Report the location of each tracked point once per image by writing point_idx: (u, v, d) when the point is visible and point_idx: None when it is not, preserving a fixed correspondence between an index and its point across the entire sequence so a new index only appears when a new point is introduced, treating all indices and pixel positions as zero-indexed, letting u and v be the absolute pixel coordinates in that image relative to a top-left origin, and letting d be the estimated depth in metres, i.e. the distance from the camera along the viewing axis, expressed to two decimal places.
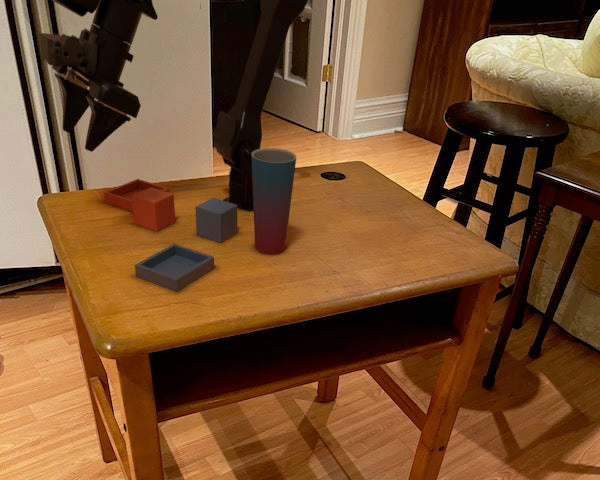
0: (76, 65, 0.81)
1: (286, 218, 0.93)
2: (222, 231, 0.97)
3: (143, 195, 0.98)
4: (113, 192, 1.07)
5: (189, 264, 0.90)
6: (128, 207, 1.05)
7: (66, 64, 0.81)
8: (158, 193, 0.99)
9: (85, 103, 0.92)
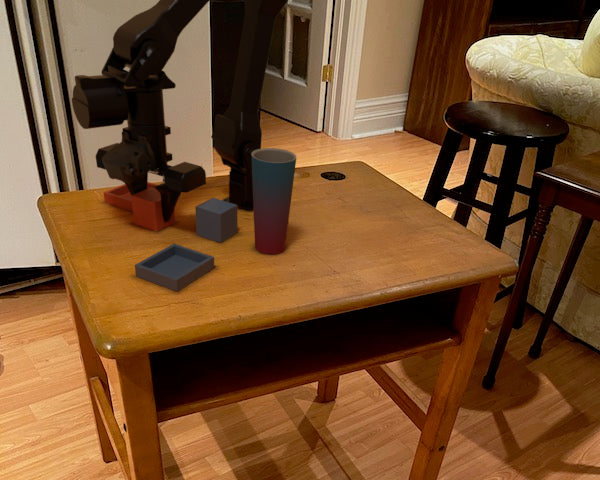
0: None
1: (286, 218, 0.93)
2: (222, 231, 0.97)
3: (143, 195, 0.98)
4: (113, 192, 1.07)
5: (189, 264, 0.90)
6: (128, 207, 1.05)
7: (137, 174, 0.91)
8: (158, 193, 0.99)
9: (145, 181, 1.00)
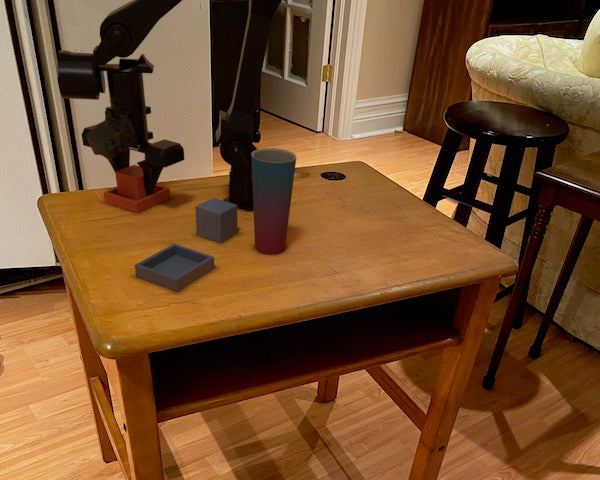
0: None
1: (286, 218, 0.93)
2: (222, 231, 0.97)
3: (126, 171, 1.05)
4: (113, 192, 1.07)
5: (189, 264, 0.90)
6: (128, 207, 1.05)
7: (120, 150, 0.97)
8: (140, 169, 1.06)
9: (127, 159, 1.07)
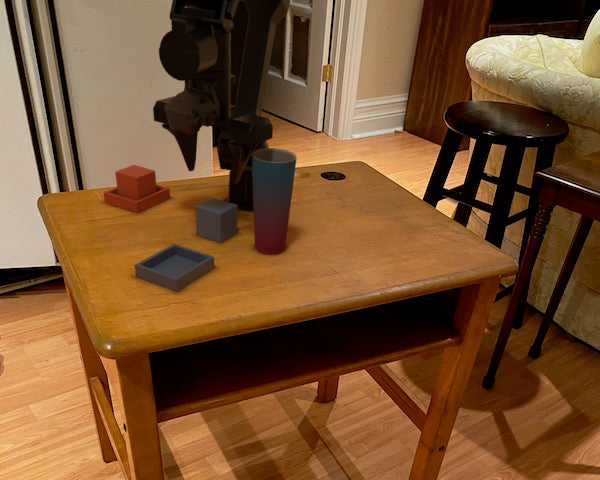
0: None
1: (286, 218, 0.93)
2: (222, 231, 0.97)
3: (126, 171, 1.05)
4: (113, 192, 1.07)
5: (189, 264, 0.90)
6: (128, 207, 1.05)
7: (202, 125, 0.84)
8: (140, 169, 1.06)
9: (195, 135, 0.94)
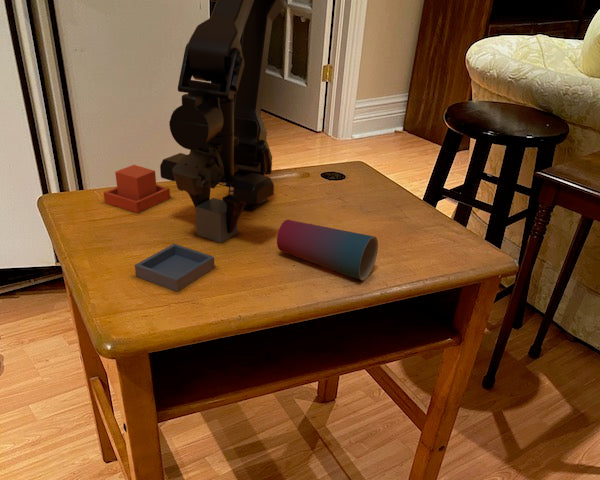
0: None
1: None
2: (222, 231, 0.97)
3: (126, 171, 1.05)
4: (113, 192, 1.07)
5: (189, 264, 0.90)
6: (128, 207, 1.05)
7: None
8: (140, 169, 1.06)
9: (207, 192, 0.99)
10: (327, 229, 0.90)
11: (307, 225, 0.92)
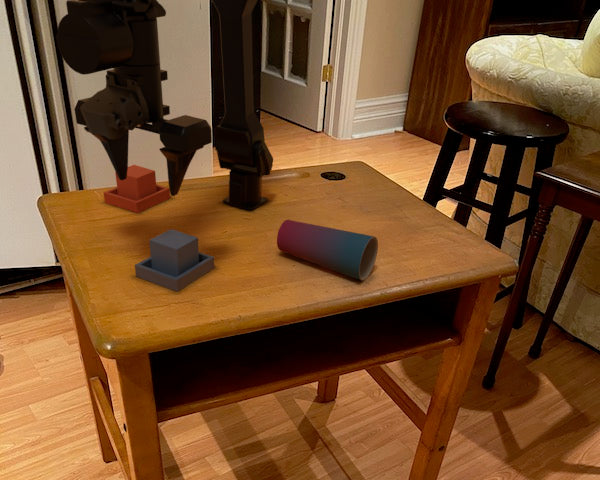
0: None
1: None
2: (179, 268, 0.85)
3: None
4: (113, 192, 1.07)
5: None
6: (128, 207, 1.05)
7: (126, 128, 0.72)
8: (140, 169, 1.06)
9: (125, 140, 0.82)
10: (327, 229, 0.90)
11: (307, 225, 0.92)
